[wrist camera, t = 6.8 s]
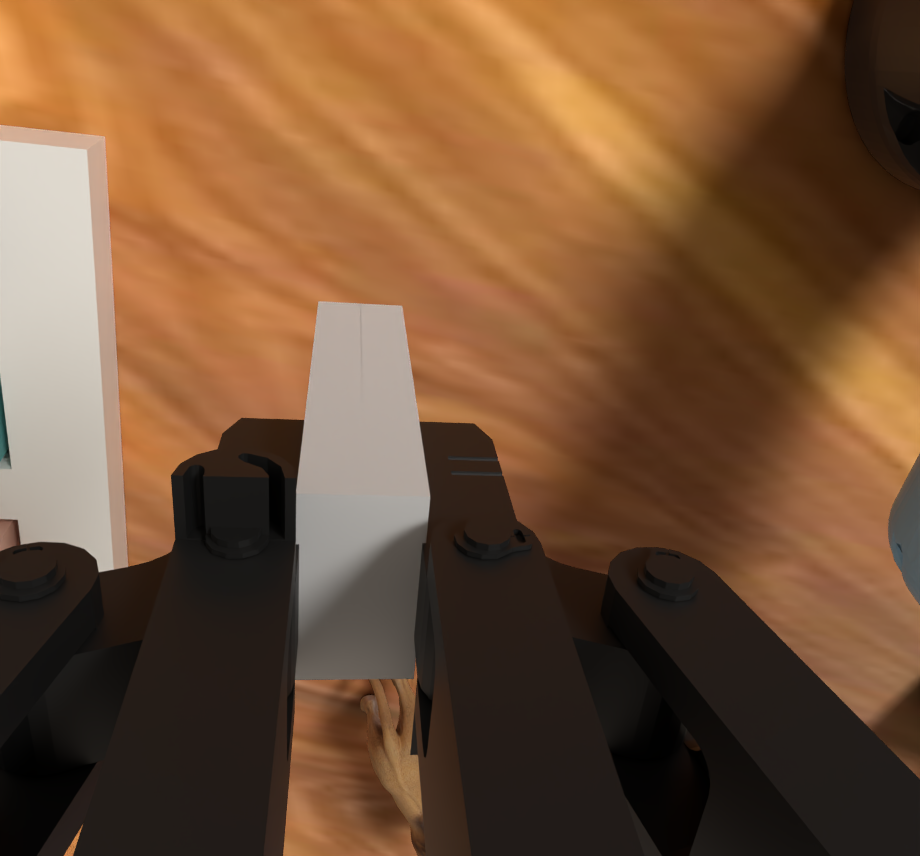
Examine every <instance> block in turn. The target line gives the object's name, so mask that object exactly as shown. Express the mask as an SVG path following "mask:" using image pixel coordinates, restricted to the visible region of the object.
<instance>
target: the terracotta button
mask: <svg viewBox="0 0 920 856" xmlns="http://www.w3.org/2000/svg"><path fill="white" fill-rule="evenodd" d="M17 545H21V542H20V533H19V525H18V520H12V519H0V551H2V550H4V549H7V548H10V547H12V546H17Z"/></svg>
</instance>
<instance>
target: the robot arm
mask: <svg viewBox="0 0 920 856" xmlns="http://www.w3.org/2000/svg"><path fill="white" fill-rule="evenodd" d="M845 81H846V89H847V96H848V101H849V106H850V110H851V113H852V117H853V120H854V122H855V125H856V128H857V130H858V132H859V134H860V136H861V138H862V140H863V142H864V144H865V145H866V147H867V149H868V150H869V151H870V153H871V154H872V156H873V157H874V158H875V159H876V160H877V161H878V163H879V164H880V165H881V166H882V167H883V168H884V169H885V170H887V171H888V172H889V173H890V174H891V175H893V176H894V177H895V178H897V179H899V180H900V181H902V182H903V183H905V184H907V185H909V186H911V187H913V188H916V189H919V190H920V0H854V3H853V6H852V10H851V15H850V19H849V24H848V31H847V37H846V48H845ZM171 482H172V496H173V510H174V525H175V542H174V545H173V548H172V551H171V552H170V553H168V554H167V555H164V556H162V557H160V558H157V559H155V560H152V561H150V562H146V563H142V564H138V565H134V566H130V567H125V568H119V569H114V570H108V571H103V572H99V570H98V565H97V560H96V559H95V558H94V557H93V556H92V555H91V554H90V553H89V552H87V551H86V550H85V549H83V548H80V547H77V546H74V545H70V544H67V543H59V542H35V543H29V544H22V545H17V546H12V547H10V548H7V549H4V550H2V551H0V856H64V854H65V852H66V851H67V849H68V848H69V846H70V844H71V843H72V841H73V839H74V838H75V836H76V834H77V833H78V831H79V830H80V828H81V826H82V825H83V827H82V830H81V833H80V836H79V839H78V842H77V845H76V848H75V851H74V854H73V856H283V848H284V836H285V824H286V811H287V799H288V786H289V774H290V762H291V749H292V737H293V725H294V712H295V680H333V679H414V670H415V659H416V666H417V688H416V698H415V709H414V720H413V730H412V741H411V751H410V755H418V762H419V775H420V787H421V800H422V813H423V826H424V838H425V851H426V856H920V779H919V778H918V777H917V776H916V775H915V774H914V773H913V772H912V771H911V770H910V769H909V768H908V767H907V766H906V765H905V764H904V763H903V762H902V761H901V760H900V759H899V758H898V757H897V756H896V755H895V754H894V753H893V752H892V751H891V750H890V749H889V748H888V747H887V746H886V745H885V744H884V743H883V742H882V741H881V740H880V739H879V738H878V737H877V736H876V735H875V734H874V733H873V732H872V731H871V730H870V729H869V728H868V727H867V726H866V725H865V724H864V722H863V721H862V720H861V719H860V718H859V717H858V716H857V715H856V714H855V713H854V712H853V711H852V710H851V709H850V708H849V707H848V706H847V705H846V704H845V703H844V702H843V701H842V700H841V699H840V698H839V697H838V696H837V695H836V694H835V693H834V692H833V691H832V690H831V689H830V688H829V687H828V686H827V685H826V684H825V683H824V682H823V681H822V680H821V679H820V678H819V677H818V676H817V675H816V674H815V673H814V672H813V671H812V670H811V669H810V668H809V667H808V666H807V665H806V664H805V663H804V662H803V661H802V660H801V659H800V658H799V657H798V656H797V655H796V654H795V653H794V652H793V651H792V650H791V649H790V648H789V647H788V646H787V645H786V644H785V643H784V642H783V641H782V640H781V639H780V638H779V637H778V636H777V635H776V634H775V633H774V632H773V631H772V630H771V629H770V628H769V627H768V626H767V625H766V624H765V623H764V622H763V621H762V620H761V619H760V618H759V617H758V616H757V615H756V614H755V613H754V612H753V611H752V610H751V609H750V608H749V607H748V606H747V605H746V603H745V602H744V601H743V600H742V599H741V598H740V597H739V596H738V595H737V594H736V593H735V592H734V591H733V590H732V589H731V588H730V587H729V586H728V585H727V584H726V583H725V582H724V581H723V580H722V579H721V578H720V577H719V576H718V575H717V574H716V573H715V572H713V571H712V570H711V569H709V568H708V567H707V566H705V565H704V564H703V563H701V562H700V561H698V560H696V559H694V558H691V557H689V556H687V555H685V554H682V553H680V552H677V551H674V550H670V549H669V550H667V549H664V548H658V547H644V548H634V549H631V550H627V551H624V552H621V553H620V554H618V555H617V556H616V557H615V558H614V559H613V560H612V561H611V562H610V567H609V571H608V575H606V574H601V573H597V572H592V571H588V570H583V569H578V568H575V567H571V566H568V565H564V564H561V563H558V562H556V561H554V560H552V559H550V558H547V557H545V554H544V551H543V548H542V545H541V543H540V541H539V540H538V538H537V537H536V535H535V534H534V532H533V531H531V530H530V529H528V528H527V527H526V526H524V525H523V524H521V523H520V522H518V521H517V519H516V516H515V513H514V510H513V506H512V503H511V500H510V496H509V493H508V490H507V487H506V483H505V480H504V477H503V476H502V470H501V467H500V464H499V461H498V457H497V454H496V451H495V447H494V444H493V441H492V439H491V438H490V437H489V436H487V435H486V434H485V433H484V432H483V431H482V430H481V429H480V428H479V427H477V426H476V425H475V424H470V423H442V422H419V417H418V410H417V403H416V397H415V390H414V383H413V376H412V370H411V363H410V356H409V350H408V343H407V336H406V329H405V323H404V316H403V309H402V306H394V305H376V304H357V303H339V302H320V301H319V302H318V311H317V319H316V328H315V336H314V345H313V353H312V361H311V370H310V378H309V387H308V395H307V403H306V412H305V420H285V419H256V418H241V419H240V420H238V421H237V422H236V423H235V424H234V425H232V426H231V427H230V428H229V429H227V430H226V431H225V432H224V433H223V434H222V437H221V440H220V443H219V447H218V449H217V450H213V451H209V452H205V453H201V454H197V455H195V456H193V457H192V458H190V459H188V460H186V461H184V462H182V463H181V464H180V465H179V466H178V467H177V468H176V470H175V471H174V472H173V473H172V475H171ZM888 537H889V544H890V548H891V550H892V553H893V557H894V561H895V562H896V564H897V566H898V567H899V569H900V570H901V572H902V576H903V579H904V581H905V583H906V586H907V587H908V589H909V591H910V592H911V594H912V595H913V597H914V598H915V599H916V601H917V602H918V603H919V605H920V454H919V456H918V458H917V460H916V461H915V463H914V465H913V467H912V469H911V471H910V473H909V475H908V477H907V478H906V480H905V482H904V484H903V486H902V488H901V490H900V492H899V494H898V495H897V497H896V499H895V501H894V503H893V505H892V508H891V512H890V516H889V523H888Z"/></svg>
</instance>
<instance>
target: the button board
mask: <svg viewBox="0 0 920 856" xmlns="http://www.w3.org/2000/svg"><path fill="white" fill-rule="evenodd" d="M0 378H1V386H2V394H3V402H4V411H5V419H6V427H7V435H8V443H9V449H8V450H7V452H6V453H5V455H4V457H3V458H2V460H1V461H0V519H12V520H18V525H19V533H20V542H21V545H22V544H29V543H35V542H59V543H67V544H70V545H74V546H77V547H80V548H83V549H85V550H86V551H87V552H89V553H90V554H91V555H92V556H93V557H94V558H95V559H96V560H97V565H98V570H99V572H103V571H108V570H114V569H119V568H125V567H128V555H127V536H126V517H125V499H124V480H123V461H122V443H121V424H120V405H119V387H118V368H117V350H116V331H115V312H114V294H113V275H112V256H111V238H110V219H109V200H108V182H107V163H106V145H105V136H97V135H88V134H79V133H69V132H60V131H51V130H42V129H33V128H24V127H15V126H6V125H0Z"/></svg>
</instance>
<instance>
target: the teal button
mask: <svg viewBox="0 0 920 856" xmlns="http://www.w3.org/2000/svg"><path fill="white" fill-rule="evenodd" d="M8 449H9V443H8V435H7V427H6V419H5V411H4V402H3V394H2V386H1V378H0V461H1V460H2V458H3V457H4V455H5V453H6V452H7V450H8Z"/></svg>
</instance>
